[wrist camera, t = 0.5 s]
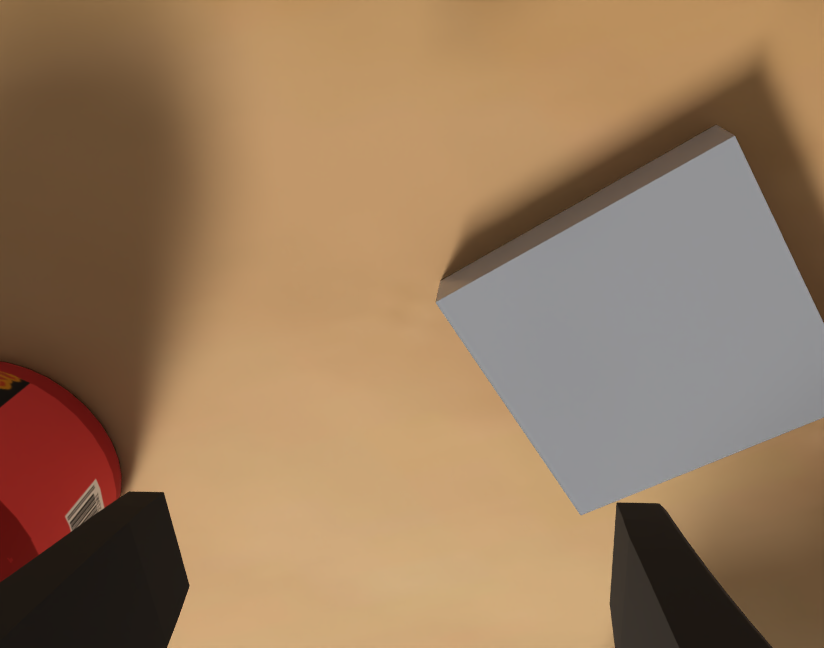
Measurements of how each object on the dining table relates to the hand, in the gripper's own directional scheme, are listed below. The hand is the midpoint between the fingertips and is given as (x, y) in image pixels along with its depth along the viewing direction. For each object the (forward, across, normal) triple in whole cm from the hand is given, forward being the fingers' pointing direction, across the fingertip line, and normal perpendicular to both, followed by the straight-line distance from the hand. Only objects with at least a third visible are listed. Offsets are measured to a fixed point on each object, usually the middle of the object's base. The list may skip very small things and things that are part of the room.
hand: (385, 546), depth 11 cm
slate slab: (+10, -6, +1) cm, 12 cm away
